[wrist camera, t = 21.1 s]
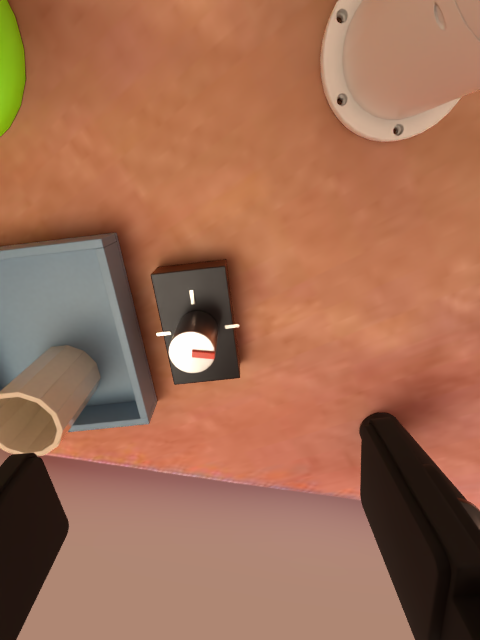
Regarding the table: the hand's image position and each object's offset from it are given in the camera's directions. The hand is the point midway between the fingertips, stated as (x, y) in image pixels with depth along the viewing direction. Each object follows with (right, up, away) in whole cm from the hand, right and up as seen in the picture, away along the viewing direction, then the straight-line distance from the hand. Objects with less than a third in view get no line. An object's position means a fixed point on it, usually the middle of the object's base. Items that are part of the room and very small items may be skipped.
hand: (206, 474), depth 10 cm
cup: (-18, -1, +28) cm, 33 cm away
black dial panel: (-3, +5, +26) cm, 27 cm away
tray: (-19, +3, +27) cm, 33 cm away
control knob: (-3, +4, +24) cm, 24 cm away
